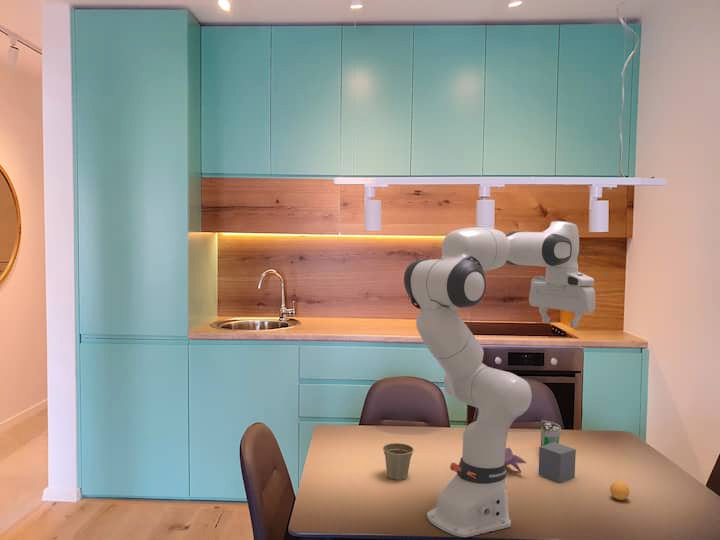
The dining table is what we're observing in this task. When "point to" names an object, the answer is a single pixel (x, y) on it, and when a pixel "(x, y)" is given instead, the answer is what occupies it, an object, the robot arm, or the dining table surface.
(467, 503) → the robot arm
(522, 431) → the dining table surface
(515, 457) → the lily
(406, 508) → the dining table surface
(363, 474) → the dining table surface
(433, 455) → the dining table surface
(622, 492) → the ball
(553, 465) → the gray rectangular box
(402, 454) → the flower pot
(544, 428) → the food container
